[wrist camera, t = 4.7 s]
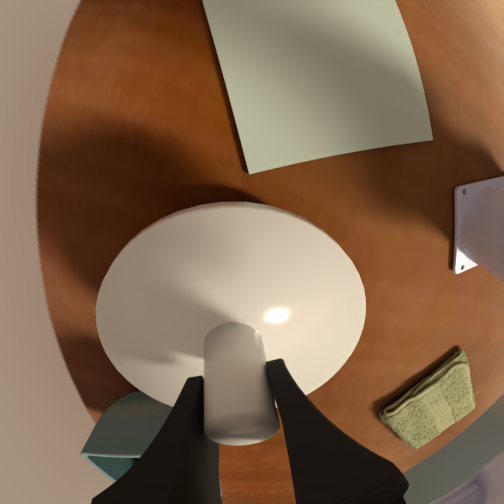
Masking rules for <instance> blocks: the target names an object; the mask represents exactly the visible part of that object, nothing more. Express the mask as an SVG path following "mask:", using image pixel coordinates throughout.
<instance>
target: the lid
mask: <svg viewBox="0 0 504 504" xmlns="http://www.w3.org/2000/svg"><path fill="white" fill-rule="evenodd" d="M365 315H366V299H365V293H364V287H363V284H362V281H361V278H360V275H359V273H358V272H357V270H356V268H355V266H354V264H353V262H352V261H351V260H350V258H349V257H348V256H347V255H346V253H345V252H344V251H343V250H342V249H341V247H340V246H339V245H338V244H337V242H336V241H335V240H334V239H333V238H332V237H331V236H329V235H328V234H327V233H326V232H325V231H324V230H323V229H321V228H320V227H318V226H317V225H315V224H313V223H312V222H310V221H309V220H307V219H305V218H303V217H301V216H299V215H296V214H294V213H292V212H289V211H287V210H284V209H280V208H276V207H273V206H269V205H264V204H257V203H249V202H218V203H211V204H204V205H198V206H194V207H191V208H187V209H184V210H180V211H177V212H175V213H173V214H170V215H168V216H166V217H164V218H161V219H159V220H157V221H156V222H154V223H153V224H151V225H149V226H148V227H146V228H145V229H143V230H142V231H141V232H139V233H138V234H137V235H136V236H135V237H134V238H132V239H131V240H130V241H129V242H128V243H127V244H126V245H125V247H124V248H123V249H122V250H121V251H120V253H119V254H118V255H117V256H116V258H115V260H114V262H113V263H112V265H111V267H110V268H109V270H108V272H107V274H106V276H105V277H104V279H103V281H102V284H101V287H100V290H99V293H98V298H97V304H96V324H97V330H98V335H99V338H100V341H101V343H102V346H103V349H104V350H105V352H106V354H107V356H108V358H109V359H110V361H111V362H112V364H113V365H114V366H115V368H116V369H117V370H118V371H119V372H120V373H121V374H122V375H123V377H124V378H125V379H126V380H128V381H129V382H130V383H131V384H132V385H134V386H135V387H136V388H137V389H139V390H140V391H142V392H143V393H145V394H147V395H148V396H150V397H152V398H154V399H156V400H158V401H160V402H162V403H165V404H167V405H170V406H172V407H173V406H174V404H175V402H176V400H177V398H178V396H179V394H180V392H181V390H182V388H183V386H184V384H185V382H186V380H187V378H189V377H194V376H200V375H202V376H203V396H204V433H205V435H206V436H207V437H208V438H209V439H211V440H212V441H215V442H217V443H221V444H226V445H249V444H254V443H258V442H261V441H264V440H266V439H268V438H270V437H272V436H273V435H275V434H276V433H277V432H278V430H279V428H280V423H279V418H278V413H277V404H276V401H275V398H274V395H273V392H272V389H271V386H270V383H269V379H268V376H267V371H266V364H265V362H267V361H271V360H275V359H279V358H281V359H283V360H284V362H285V365H286V367H287V369H288V371H289V372H290V374H291V376H292V377H293V379H294V380H295V382H296V383H297V385H298V386H299V387H300V389H301V390H302V391H303V393H304V394H305V395H307V394H309V393H311V392H312V391H314V390H315V389H317V388H318V387H320V386H321V385H322V384H324V383H325V382H326V381H328V380H329V379H330V378H331V377H332V376H333V375H334V374H335V373H336V372H337V371H338V370H339V369H340V368H341V367H342V366H343V364H344V363H345V362H346V361H347V359H348V358H349V356H350V355H351V354H352V352H353V350H354V348H355V346H356V345H357V343H358V341H359V338H360V335H361V332H362V330H363V326H364V321H365Z"/></svg>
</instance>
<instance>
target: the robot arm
mask: <svg viewBox="0 0 504 504" xmlns="http://www.w3.org/2000/svg"><path fill="white" fill-rule="evenodd" d="M463 190H464V191H463ZM454 199H455V242H454V262H453V272H454V273H456V274H459V273H461V272H463V271H465V270H468V269H470V268H472V267H474V266H476V265H479V266H481V267H482V268H484V269H485V270H487V271H488V272H490V273H492V274H493V275H495V276H496V277H498V278H499V279H500V280H502V281H503V282H504V176H501V177H497V178H492V179H488V180H483V181H479V182H475V183H470V184H466V185H461V186H458V187H456V188H455V191H454ZM265 364H266V371H267V376H268V379H269V383H270V386H271V389H272V392H273V395H274V398H275V401H276V404H277V408H278V411H279V414H280V417H281V420H282V424H283V429H284V435H285V440H286V445H287V451H288V456H289V462H290V468H291V474H292V480H293V486H294V492H295V498H296V504H406V502H405V500H404V498H403V495H404V493H405V492H406V491H407V489H408V487H409V484H408V481H407V480H406V478H405V476H404V475H403V474H402V472H401V471H400V470H399V469H398V468H397V467H396V466H395V465H394V464H393V463H392V462H391V461H389V460H387V459H385V458H383V457H381V456H379V455H377V454H375V453H374V452H372V451H370V450H369V449H367V448H365V447H364V446H362V445H361V444H359V443H358V442H356V441H355V440H353V439H352V438H351V437H349V436H348V435H347V434H345V433H344V432H342V431H341V430H340V429H339V428H338V427H336V426H335V425H334V424H333V423H332V422H331V421H330V420H328V419H327V418H326V417H325V416H324V415H323V414H322V413H321V412H320V411H319V410H318V409H317V408H316V407H315V406H314V404H313V403H312V402H311V401H310V400H309V399H308V398H307V396H306V395H305V394H304V393H303V391H302V390H301V389H300V387H299V386H298V385H297V383H296V382H295V380H294V379H293V377H292V376H291V374H290V372H289V371H288V369H287V367H286V365H285V362H284V360H283V359H281V358H279V359H275V360H271V361H267V362H265ZM91 504H222V499H221V492H220V483H219V443H217V442H215V441H212V440H211V439H209V438H208V437H207V436H206V435H205V433H204V396H203V376H202V375H200V376H194V377H189V378H187V380H186V382H185V384H184V386H183V388H182V390H181V392H180V394H179V396H178V398H177V400H176V402H175V404H174V406H173V408H172V410H171V412H170V413H169V415H168V417H167V419H166V421H165V422H164V424H163V426H162V427H161V429H160V430H159V432H158V434H157V435H156V437H155V438H154V440H153V441H152V442H151V444H150V445H149V447H148V448H147V449H146V450H145V452H144V453H143V454H142V455H141V457H140V458H139V459H138V460H137V461H136V462H135V463H134V464H133V466H132V467H131V468H130V469H129V470H128V471H127V472H126V473H125V474H123V475H122V476H121V477H120V478H119V479H118V480H117V481H116V482H114V483H113V484H112V485H111V486H110V487H108V488H107V489H105V490H104V491H103V492H101V493H100V494H98V495H97V496H95V497H94V498H93V499H92V502H91ZM429 504H504V451H503V452H502V453H501V454H499V455H498V456H497V457H496V458H494V459H493V460H492V461H490V462H489V463H488V464H486V465H485V466H484V467H483V468H481V469H480V470H479V471H478V472H477V473H476V474H475V476H474V477H473V478H471V479H470V480H468V481H467V482H465V483H464V484H462V485H461V486H459V487H457V488H456V489H454V490H452V491H451V492H449V493H447V494H446V495H444V496H442V497H440V498H439V499H437V500H435V501H433V502H431V503H429Z"/></svg>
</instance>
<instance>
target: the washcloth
mask: <svg viewBox="0 0 504 504" xmlns="http://www.w3.org/2000/svg"><path fill="white" fill-rule="evenodd" d="M469 368H470V366H469V362H468V361H467V356H466V354H465V352H464V350H463V349H460V350H459V351H458V352H456V351H455V352H454V354H453V355H452V356H451V357H450V358H449V359H448V360H447V361H445V362H444V363H443V364H442V365H441V366H440V367H439V368H438V369H436V370H435V371H434V372H433V373H432V374H431V375H429V376H428V377H426V378H424V379H423V380H422V381H421V382H419V383H418V384H417V385H416V386H414V387H413V388H412V389H411V390H409V391H408V392H407V393H406V394H405V395H403V396H402V397H401V398H400V399H399V400H397V401H396V402H395V403H394V404H392V405H390V406H389V407H387V408H385V409H384V410H383V411H381V412H379V417H380V418H381V421H383V424H384V423H385V424H387V425H388V427H390V428H391V429H392V430H393V431H394V432H396V433H397V435H398V436H400V437H401V438H402V440H403V441H405V442H406V444H407V445H408V446H411V447H412V448H414V449H417V448H419V447H421V446H422V445H424V444H426V443H427V442H429V441H430V440H431V439H432V438H435V436H438V435H439V434H441V432H442V431H443V430H445V429H446V428H448V427H449V426H451V425H452V424H453V423H455V422H457V421H459V420H460V419H461V418H462V417H464V416H465V415H466V414H468V413H469V412H470V411H471V410H473V409H474V408H475V398H474V395H473V394H474V393H473V387H472V382H471V380H470V378H471V377H470V369H469Z"/></svg>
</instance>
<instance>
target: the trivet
mask: <svg viewBox="0 0 504 504" xmlns="http://www.w3.org/2000/svg"><path fill="white" fill-rule="evenodd" d="M202 1H203V5H204V8H205V12H206V16H207V19H208V23H209V26H210V30H211V33H212V37H213V40H214V44H215V48H216V51H217V55H218V59H219V62H220V66H221V70H222V73H223V77H224V81H225V84H226V88H227V92H228V96H229V99H230V103H231V107H232V111H233V115H234V118H235V122H236V126H237V130H238V134H239V137H240V141H241V145H242V149H243V153H244V157H245V161H246V165H247V169H248V172H249V174H253V173H257V172H261V171H265V170H269V169H273V168H278V167H282V166H287V165H291V164H295V163H300V162H305V161H309V160H314V159H319V158H324V157H329V156H334V155H340V154H345V153H351V152H356V151H362V150H368V149H374V148H380V147H387V146H393V145H400V144H407V143H415V142H423V141H431V140H433V136H432V130H431V124H430V118H429V113H428V108H427V103H426V98H425V93H424V89H423V85H422V81H421V77H420V73H419V69H418V65H417V62H416V58H415V55H414V52H413V48H412V45H411V42H410V39H409V36H408V33H407V30H406V27H405V25H404V22H403V19H402V16H401V14H400V11H399V9H398V6H397V4H396V1H395V0H202Z"/></svg>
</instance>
